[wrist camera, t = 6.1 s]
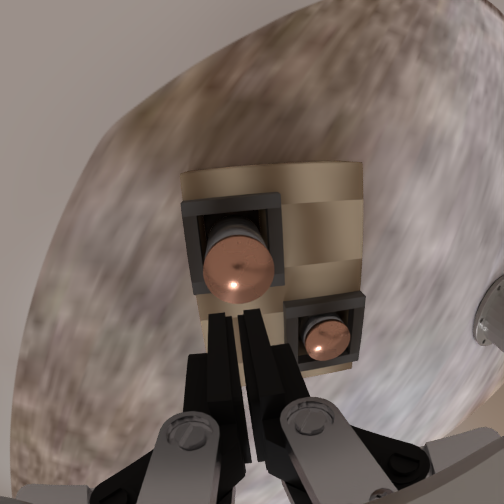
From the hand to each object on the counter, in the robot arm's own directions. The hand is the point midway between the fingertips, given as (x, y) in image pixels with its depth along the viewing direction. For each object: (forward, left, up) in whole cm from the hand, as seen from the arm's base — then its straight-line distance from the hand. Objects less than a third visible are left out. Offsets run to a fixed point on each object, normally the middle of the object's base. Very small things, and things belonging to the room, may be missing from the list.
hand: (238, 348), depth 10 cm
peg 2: (-7, +9, -19) cm, 22 cm away
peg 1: (0, 0, -14) cm, 14 cm away
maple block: (-4, +5, -19) cm, 20 cm away
